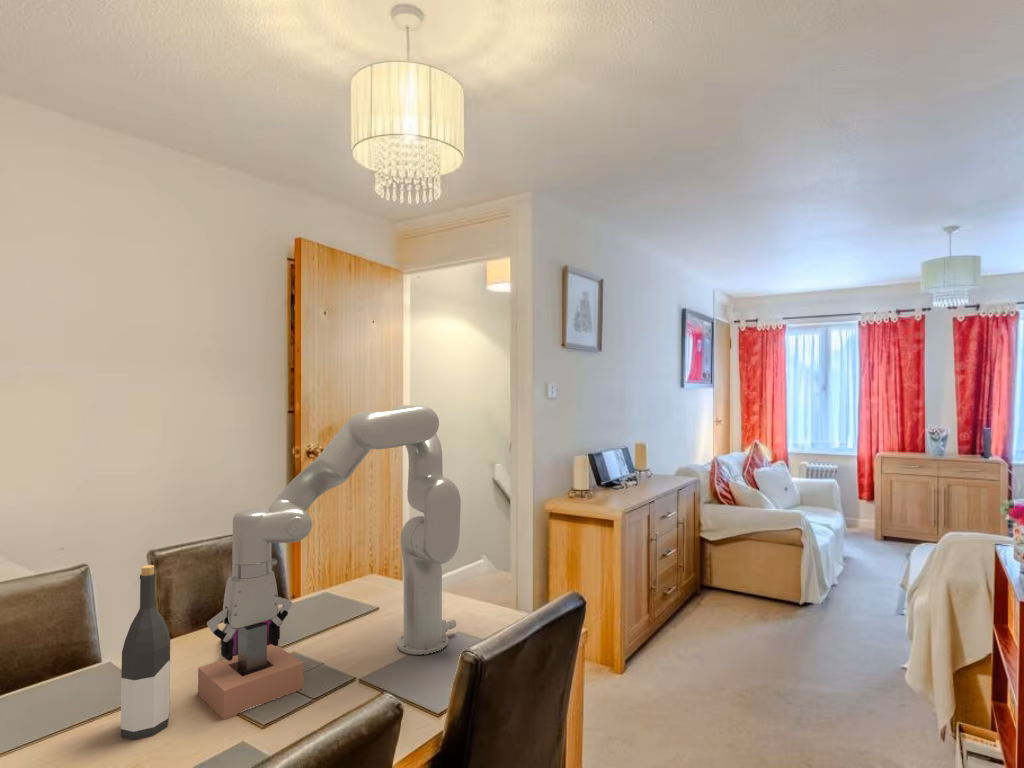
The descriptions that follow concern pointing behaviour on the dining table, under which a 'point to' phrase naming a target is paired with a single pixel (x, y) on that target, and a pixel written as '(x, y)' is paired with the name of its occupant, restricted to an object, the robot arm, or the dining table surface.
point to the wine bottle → (145, 667)
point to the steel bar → (252, 648)
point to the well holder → (248, 682)
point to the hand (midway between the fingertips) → (251, 651)
